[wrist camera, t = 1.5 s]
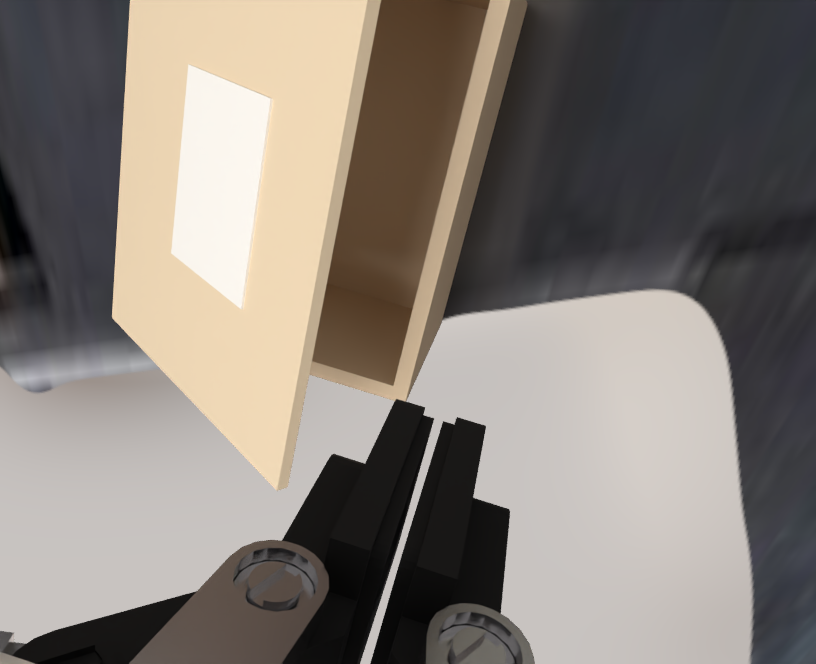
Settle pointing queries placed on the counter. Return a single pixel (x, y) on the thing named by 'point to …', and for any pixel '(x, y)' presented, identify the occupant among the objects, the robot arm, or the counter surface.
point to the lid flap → (237, 199)
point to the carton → (412, 185)
